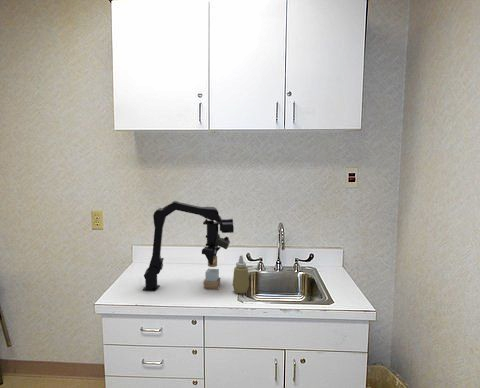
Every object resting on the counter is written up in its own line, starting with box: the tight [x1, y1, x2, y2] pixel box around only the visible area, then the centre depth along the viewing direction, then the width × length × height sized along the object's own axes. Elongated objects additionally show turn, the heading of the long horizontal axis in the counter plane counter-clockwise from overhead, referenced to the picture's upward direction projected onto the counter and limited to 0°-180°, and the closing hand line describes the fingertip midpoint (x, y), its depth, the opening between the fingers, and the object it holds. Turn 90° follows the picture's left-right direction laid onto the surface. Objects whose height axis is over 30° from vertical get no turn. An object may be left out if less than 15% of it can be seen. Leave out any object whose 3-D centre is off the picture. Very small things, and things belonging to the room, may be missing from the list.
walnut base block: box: [203, 276, 221, 291], centre depth 182 cm, size 7×7×4 cm
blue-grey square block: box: [204, 267, 220, 282], centre depth 182 cm, size 6×6×4 cm
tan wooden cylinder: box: [207, 255, 218, 268], centre depth 181 cm, size 5×5×4 cm
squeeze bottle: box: [232, 255, 250, 295], centre depth 175 cm, size 8×8×18 cm
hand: (212, 263), depth 181 cm, fingers closed on tan wooden cylinder, 5 cm apart
